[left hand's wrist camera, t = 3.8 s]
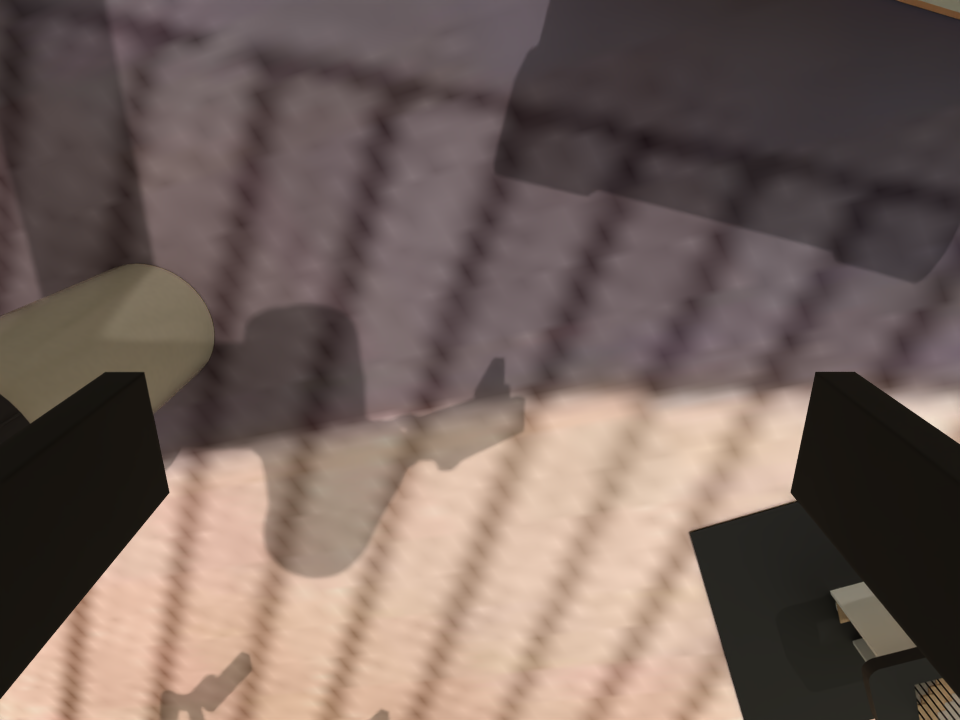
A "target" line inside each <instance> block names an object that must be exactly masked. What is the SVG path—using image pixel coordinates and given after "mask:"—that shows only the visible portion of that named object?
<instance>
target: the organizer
mask: <svg viewBox="0 0 960 720" xmlns="http://www.w3.org/2000/svg"><path fill="white" fill-rule="evenodd" d="M897 1H900V2H903V3H907V4H910V5H913V6H917V7H920V8H923V9H927V10H930V11H933V12H936V13H940V14H943V15H946V16H950V17H953V18H956V19H960V0H897Z"/></svg>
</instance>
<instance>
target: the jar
mask: <svg viewBox="0 0 960 720" xmlns="http://www.w3.org/2000/svg"><path fill="white" fill-rule="evenodd" d="M213 346H214V326H213V322H212V318H211V316H210V313H209V310H208V308H207V307H206V305H205V303H204V301H203V300H202V298H201V297H200V296H199V294H198V293H197V292H196V291H195V290H194V289H193V288H192V287H191V286H190V285H189V284H188V283H187V282H185V281H184V280H183V279H181V278H180V277H178V276H177V275H175V274H173V273H171V272H169V271H167V270H165V269H162V268H159V267H156V266H151V265H146V264H127V265H122V266H118V267H116V268H113V269H110V270H108V271H106V272H103V273H101V274H98V275H96V276H94V277H91V278H89V279H87V280H84V281H82V282H79V283H77V284H75V285H72V286H70V287H68V288H65V289H63V290H60V291H58V292H56V293H53V294H51V295H49V296H46V297H44V298H41V299H39V300H37V301H34V302H32V303H30V304H27V305H25V306H22V307H20V308H18V309H15V310H13V311H11V312H8V313H6V314H3V315H1V316H0V394H1V395H2V396H4V397H5V398H6V399H7V400H9V401H10V402H11V403H12V404H13V405H14V406H15V407H16V408H17V409H18V410H19V411H20V412H21V413H22V414H23V415H24V416H25V418H26V419H27V420H28V421H29V422H30V423H32V422H33V421H35V420H36V419H38V418H39V417H41V416H42V415H43V414H45V413H46V412H48V411H49V410H51V409H52V408H54V407H55V406H57V405H58V404H59V403H61V402H62V401H64V400H65V399H67V398H68V397H70V396H71V395H72V394H74V393H75V392H77V391H78V390H80V389H81V388H83V387H84V386H86V385H87V384H88V383H90V382H91V381H93V380H94V379H96V378H97V377H99V376H100V375H102V374H103V373H104V372H145V377H146V382H147V387H148V392H149V397H150V401H151V406H152V411H153V415H154V414H155V413H156V412H157V411H158V410H159V409H160V408H161V407H162V406H163V405H164V404H166V403H167V402H168V401H169V400H170V399H171V398H172V397H173V396H174V395H175V394H176V393H178V392H179V391H180V390H181V389H182V388H183V387H184V386H185V385H186V384H187V383H188V382H189V381H191V380H192V379H193V378H194V377H195V376H196V375H197V374H198V373H199V372H200V371H201V370H202V369H203V368H204V367H205V365H206V364H207V362H208V360H209V359H210V356H211V354H212V351H213Z"/></svg>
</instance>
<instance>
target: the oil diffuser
mask: <svg viewBox="0 0 960 720" xmlns="http://www.w3.org/2000/svg"><path fill="white" fill-rule="evenodd" d="M690 534H691V538H692V541H693V545H694V548H695V551H696V555H697V558H698V562H699V565H700V569H701V572H702V575H703V579H704V582H705V586H706V589H707V593H708V596H709V600H710V603H711V606H712V610H713V613H714V617H715V620H716V624H717V627H718V630H719V634H720V637H721V641H722V644H723V648H724V651H725V655H726V658H727V661H728V665H729V668H730V672H731V675H732V679H733V682H734V686H735V689H736V692H737V696H738V699H739V703H740V706H741V710H742V713H743V716H744V720H870V719H874V718H875V720H960V699H959V698H958V696H957V695H956V694H955V693H954V692H953V690H952V689H951V688H950V687H949V685H948V684H947V683H946V682H945V681H944V679H943V678H942V677H941V676H940V674H939V673H938V672H937V671H936V670H935V668H934V667H933V666H932V665H931V663H930V662H929V661H928V660H927V659H926V657H925V656H924V655H923V654H922V652H921V651H920V650H919V649H918V648H917V646H916V645H915V644H914V643H913V641H912V640H911V639H910V638H909V637H908V635H907V634H906V633H905V632H904V630H903V629H902V628H901V627H900V626H899V624H898V623H897V622H896V621H895V620H894V618H893V617H892V616H891V615H890V613H889V612H888V611H887V610H886V609H885V607H884V606H883V605H882V604H881V602H880V601H879V600H878V599H877V598H876V596H875V595H874V594H873V593H872V591H871V590H870V589H869V588H868V587H867V585H866V584H865V583H864V582H863V580H862V579H861V578H860V577H859V576H858V574H857V573H856V572H855V571H854V569H853V568H852V567H851V566H850V565H849V563H848V562H847V561H846V560H845V558H844V557H843V556H842V555H841V554H840V552H839V551H838V550H837V549H836V547H835V546H834V545H833V544H832V543H831V541H830V540H829V539H828V538H827V537H826V535H825V534H824V533H823V532H822V530H821V529H820V528H819V527H818V526H817V524H816V523H815V522H814V521H813V519H812V518H811V517H810V516H809V515H808V513H807V512H806V511H805V510H804V508H803V507H802V506H801V505H800V504H799V502H795V503H792V504H788V505H785V506H782V507H778V508H775V509H771V510H768V511H764V512H761V513H757V514H754V515H750V516H747V517H744V518H740V519H737V520H733V521H730V522H726V523H723V524H719V525H716V526H712V527H709V528H706V529H702V530H699V531H695V532H692V533H690Z"/></svg>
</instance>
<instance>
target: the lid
mask: <svg viewBox="0 0 960 720" xmlns="http://www.w3.org/2000/svg"><path fill="white" fill-rule="evenodd" d="M29 424H30V422H29V421H28V420H27V419H26V418H25V416H24V415H23V414H22V413H21V412H20V411H19V410H18V409H17V408H16V407H15V406H14V405H13V404H12V403H11V402H10V401H9V400H7V399H6V398H5V397H4V396H2V395H1V394H0V444H1V443H3V442H4V441H6V440H7V439H9V438H10V437H12V436H13V435H14V434H16V433H17V432H19V431H20V430H22V429H23V428H25V427H26V426H28V425H29Z"/></svg>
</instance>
